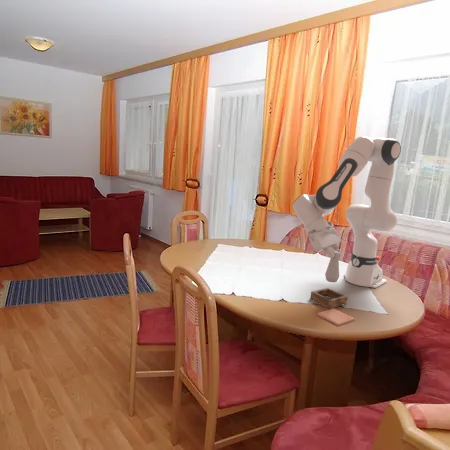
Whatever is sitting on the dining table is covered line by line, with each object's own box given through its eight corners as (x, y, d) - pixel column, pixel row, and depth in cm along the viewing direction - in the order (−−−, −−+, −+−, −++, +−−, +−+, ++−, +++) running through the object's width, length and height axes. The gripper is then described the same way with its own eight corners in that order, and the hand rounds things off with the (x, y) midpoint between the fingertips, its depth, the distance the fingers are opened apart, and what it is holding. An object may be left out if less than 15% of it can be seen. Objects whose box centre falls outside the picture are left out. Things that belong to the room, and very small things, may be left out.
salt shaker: (328, 277, 164) (332, 248, 161) (340, 281, 160) (344, 251, 157) (322, 280, 159) (326, 251, 156) (334, 284, 156) (339, 254, 153)
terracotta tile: (333, 310, 153) (333, 308, 153) (354, 320, 145) (354, 318, 145) (317, 315, 147) (317, 313, 147) (338, 325, 139) (338, 323, 139)
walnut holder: (326, 295, 169) (327, 287, 168) (346, 304, 160) (347, 296, 160) (310, 299, 162) (311, 291, 162) (329, 308, 154) (331, 300, 153)
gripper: (312, 227, 151) (331, 256, 147) (333, 222, 166) (351, 248, 163) (301, 236, 155) (319, 264, 151) (322, 229, 170) (340, 255, 166)
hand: (336, 256), depth 157 cm, fingers closed on salt shaker, 4 cm apart
